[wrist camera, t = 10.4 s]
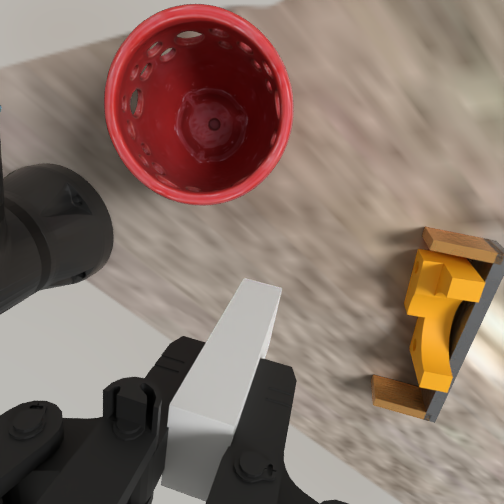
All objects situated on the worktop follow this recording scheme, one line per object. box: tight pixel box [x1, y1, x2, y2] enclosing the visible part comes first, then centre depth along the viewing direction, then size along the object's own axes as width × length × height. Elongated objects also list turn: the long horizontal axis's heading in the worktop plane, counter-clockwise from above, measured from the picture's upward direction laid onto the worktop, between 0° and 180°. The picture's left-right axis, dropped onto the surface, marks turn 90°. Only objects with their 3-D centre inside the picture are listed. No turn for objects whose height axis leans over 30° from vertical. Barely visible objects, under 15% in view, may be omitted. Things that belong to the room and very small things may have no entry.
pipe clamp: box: [404, 249, 485, 393], centre depth 37 cm, size 12×4×6 cm, turn 176°
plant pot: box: [104, 4, 293, 205], centre depth 31 cm, size 13×13×12 cm
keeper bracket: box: [371, 227, 504, 423], centre depth 38 cm, size 7×20×4 cm, turn 172°
